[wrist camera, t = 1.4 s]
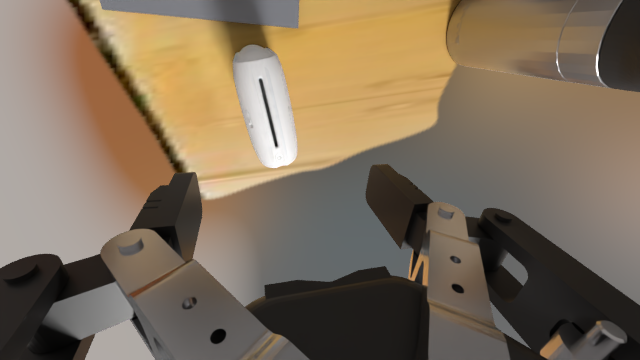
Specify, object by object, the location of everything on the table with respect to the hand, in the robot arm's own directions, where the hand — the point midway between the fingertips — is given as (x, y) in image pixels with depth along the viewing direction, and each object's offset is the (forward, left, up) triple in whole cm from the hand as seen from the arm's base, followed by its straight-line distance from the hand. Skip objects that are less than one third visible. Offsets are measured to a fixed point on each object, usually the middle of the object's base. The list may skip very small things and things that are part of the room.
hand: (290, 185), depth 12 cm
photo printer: (0, 0, -23) cm, 23 cm away
